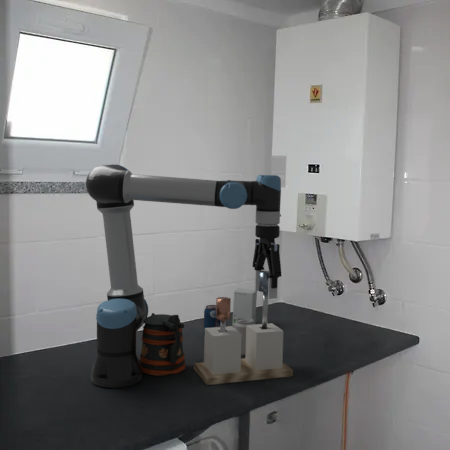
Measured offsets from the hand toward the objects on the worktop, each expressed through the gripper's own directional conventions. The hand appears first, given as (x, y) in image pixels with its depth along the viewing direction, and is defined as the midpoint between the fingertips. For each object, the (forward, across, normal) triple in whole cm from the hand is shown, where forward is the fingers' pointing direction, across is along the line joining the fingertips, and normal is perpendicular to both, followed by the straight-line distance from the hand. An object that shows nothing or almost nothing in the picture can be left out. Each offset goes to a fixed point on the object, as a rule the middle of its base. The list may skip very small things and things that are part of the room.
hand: (265, 294), depth 186 cm
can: (+25, +18, 0) cm, 31 cm away
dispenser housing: (+23, 0, +7) cm, 24 cm away
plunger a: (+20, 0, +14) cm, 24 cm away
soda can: (+25, +38, +5) cm, 46 cm away
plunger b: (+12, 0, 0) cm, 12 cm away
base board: (+25, 0, +7) cm, 26 cm away
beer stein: (+25, +8, +30) cm, 40 cm away
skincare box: (+25, +47, -11) cm, 54 cm away
